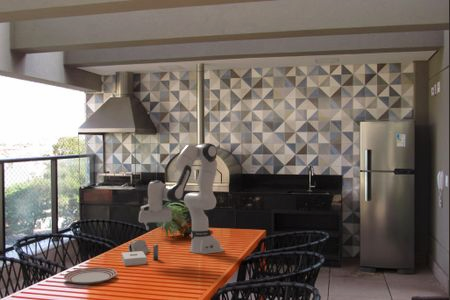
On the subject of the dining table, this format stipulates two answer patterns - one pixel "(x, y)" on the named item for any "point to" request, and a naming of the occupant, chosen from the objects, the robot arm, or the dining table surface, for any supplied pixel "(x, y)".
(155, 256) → the pin
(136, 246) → the grey curved slotted block
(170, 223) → the plant
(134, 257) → the grey block with hole
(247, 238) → the dining table surface
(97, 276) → the dinner plate
